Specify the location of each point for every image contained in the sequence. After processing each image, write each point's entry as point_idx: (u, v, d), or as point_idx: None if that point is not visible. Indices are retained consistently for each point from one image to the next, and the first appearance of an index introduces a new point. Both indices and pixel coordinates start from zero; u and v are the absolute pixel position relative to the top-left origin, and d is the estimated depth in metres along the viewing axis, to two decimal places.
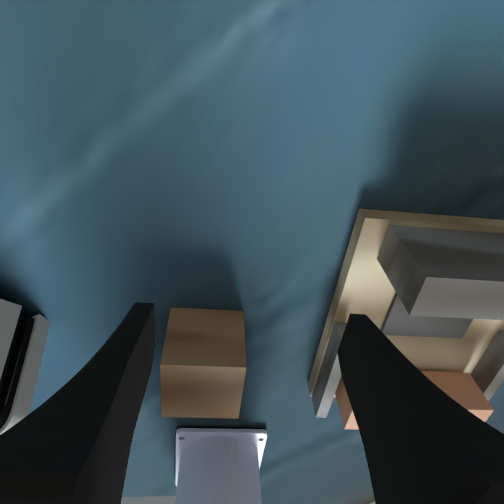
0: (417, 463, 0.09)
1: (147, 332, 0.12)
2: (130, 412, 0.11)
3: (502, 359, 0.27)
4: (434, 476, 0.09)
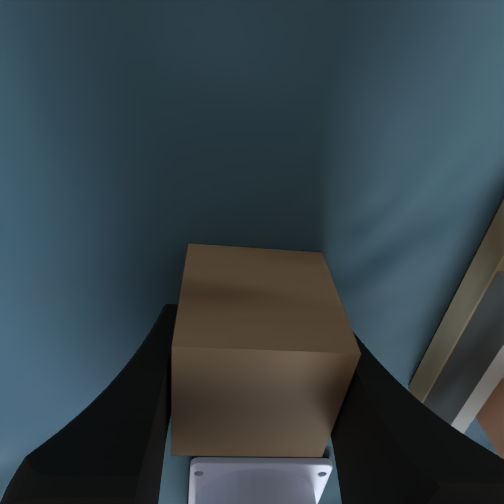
0: (376, 463, 0.09)
1: None
2: (166, 413, 0.11)
3: None
4: (390, 476, 0.09)
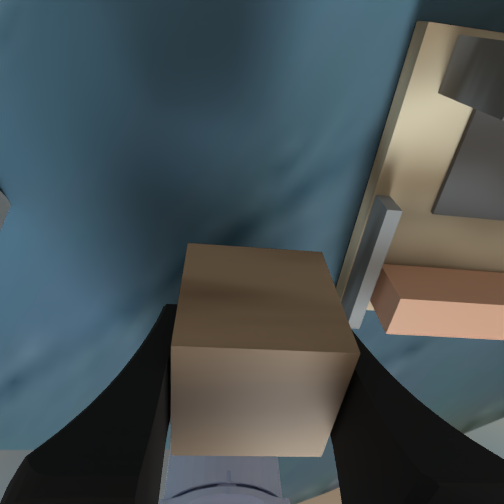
0: (376, 463, 0.09)
1: None
2: (166, 413, 0.11)
3: None
4: (390, 476, 0.09)
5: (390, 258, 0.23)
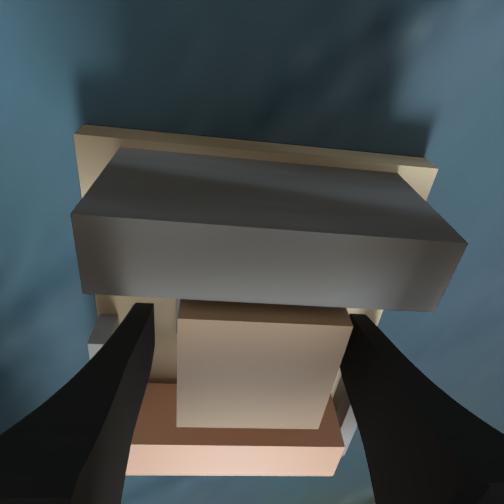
0: (417, 463, 0.09)
1: (147, 332, 0.12)
2: (130, 412, 0.11)
3: None
4: (434, 476, 0.09)
5: (150, 374, 0.20)
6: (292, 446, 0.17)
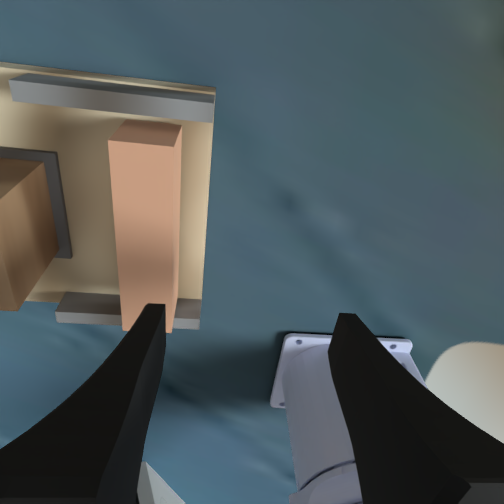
0: (402, 463, 0.09)
1: (159, 332, 0.12)
2: (144, 412, 0.11)
3: None
4: (418, 476, 0.09)
5: None
6: (112, 197, 0.16)
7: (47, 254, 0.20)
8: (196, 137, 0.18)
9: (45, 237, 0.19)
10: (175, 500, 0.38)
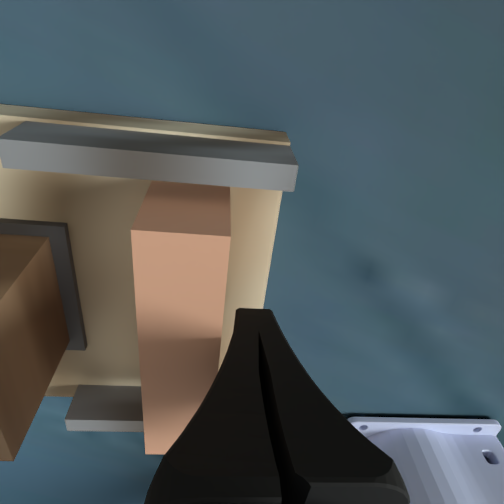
0: (275, 462, 0.09)
1: None
2: None
3: None
4: (281, 475, 0.08)
5: None
6: None
7: (54, 357, 0.14)
8: (259, 201, 0.13)
9: (51, 336, 0.14)
10: None
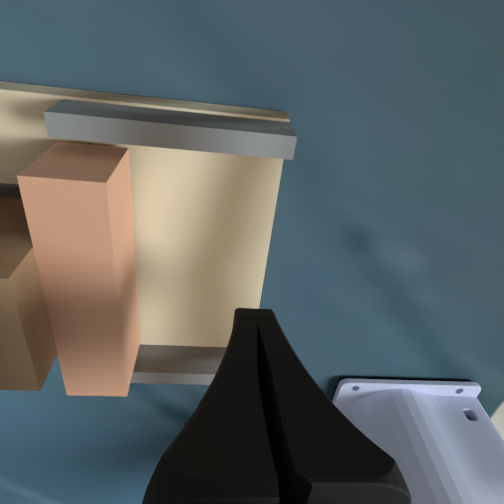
0: (277, 462, 0.09)
1: None
2: None
3: None
4: (282, 475, 0.08)
5: (176, 327, 0.20)
6: (33, 246, 0.12)
7: None
8: (262, 171, 0.15)
9: None
10: None
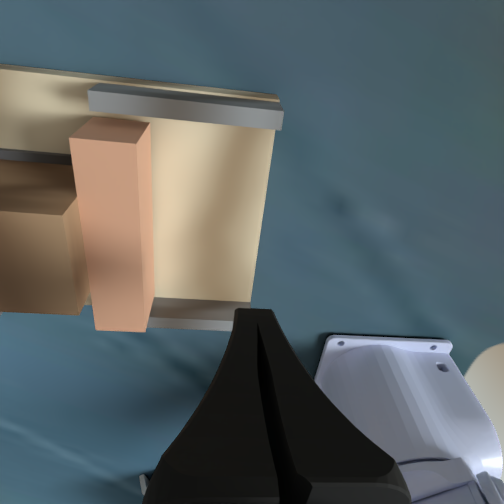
0: (277, 462, 0.09)
1: None
2: None
3: None
4: (282, 475, 0.08)
5: (185, 281, 0.23)
6: (77, 196, 0.16)
7: None
8: (257, 143, 0.19)
9: None
10: None
